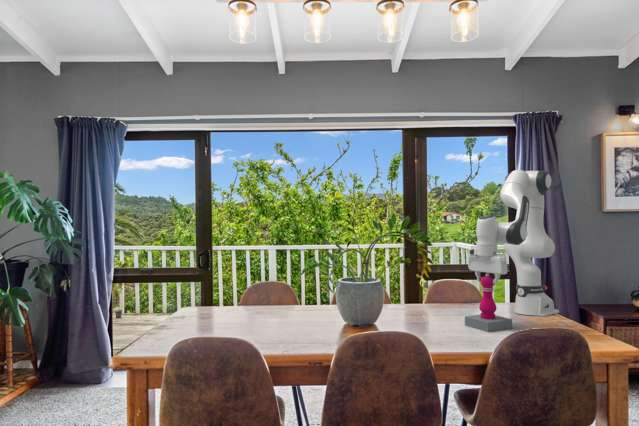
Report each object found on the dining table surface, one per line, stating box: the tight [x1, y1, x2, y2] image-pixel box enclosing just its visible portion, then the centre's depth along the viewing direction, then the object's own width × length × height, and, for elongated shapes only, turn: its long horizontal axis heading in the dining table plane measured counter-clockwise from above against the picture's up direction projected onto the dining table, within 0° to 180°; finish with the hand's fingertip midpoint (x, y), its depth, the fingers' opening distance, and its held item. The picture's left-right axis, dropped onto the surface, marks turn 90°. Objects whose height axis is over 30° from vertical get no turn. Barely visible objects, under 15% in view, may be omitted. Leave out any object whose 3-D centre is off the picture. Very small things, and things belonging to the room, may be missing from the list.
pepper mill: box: [478, 272, 497, 319], centre depth 210 cm, size 7×7×20 cm
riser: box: [464, 313, 513, 333], centre depth 210 cm, size 14×14×4 cm
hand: (487, 282), depth 210 cm, fingers open, 8 cm apart
